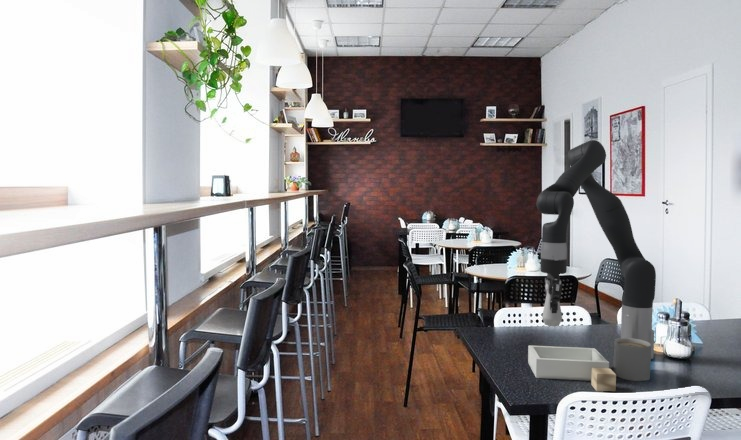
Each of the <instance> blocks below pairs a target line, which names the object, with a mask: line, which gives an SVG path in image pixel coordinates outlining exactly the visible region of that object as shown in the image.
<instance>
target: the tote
mask: <svg viewBox="0 0 741 440" xmlns="http://www.w3.org/2000/svg"><path fill="white" fill-rule="evenodd" d="M527 347H528V350H527V351H528V352H527V363H528V365H529V368H530V369H531V371H532V373H533V375H534V376H535V378H537V379H551V380H552V379H553V380H571V381H574V380H575V381H590V382H591V377H592V368H608V369H610V361H608V360H607V359H606V357H604V356H603V355H602V354H601V353H600V352H599V351H598V350H597V349H596V348H593V347H575V346H573V347H572V346H554V345H553V346H549V345H528V346H527Z"/></svg>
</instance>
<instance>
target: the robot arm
mask: <svg viewBox="0 0 741 440" xmlns="http://www.w3.org/2000/svg"><path fill="white" fill-rule="evenodd" d="M566 155H567V161H568V164H569V167H568V168H567V169H566V170H565V171H563V173H561V175H560V176H559V177H558V178H557V180H556V181H555V182H554V183H553V184H551V185H549V186H548V187H546V188H545V189H544V190H541V192H540V193H539V195H538V196H537V199H536V203H535V204H536V209H537V210H538V212H540V213H541V214H543V215H550V216H551V215H552V216H553V215H555V216H556V215H557V219H556V220H555V221H550V222H545V223H544V224H543V225H542V229H541V231H542V233H541V246H540V247H541V248H540V272H541V273H544V274H547V275H546V277H544V285H545V286H546V283H547V285H548V294H549V295H550V300H549V301H550V310H551V307H552V313H557V311H558V303H559V302H561V298H562V297H561V296H562V291H563V290H562V288H563V285H562V279H560V275H563V274H566V273H567V269H568V268H567V266H568V265H567V263H568V248H567V247H568V245H567V234H568V233H567V231H568V226H569V225H568V224H569V222H570V219H571V215H572V212H573V209H574V206H575V205H574V204H575V201H574V197H575V196H576V194H577V193H578V192H579V189H580V187H582V189H583V191H584V193H585V196H586V197H587V199H588V201H589V204H590V206H591V208H592V211H593V213H594V215H595V217H596V219H597V222H598V224H599V226H600V227H601V230H602V231H603V234H604V235H605V237H606V239H607V240H608V242H609V244H610V245H611V247H612V249H613V252H614V253H615V257H616V260H617V261H618V262H617V263H618V265H619V270H620V272H621V275H622V276H623V278H624V287H623V288H624V289H623V295H622V298H621V322H620V323H621V324H620V325H621V326H620V338H632V339H639V340H643V341H646V342H649V343H650V344H651V360H654V354H655V353H654V351H655V350H654V348H655V330H654V329H653V310H654V309H653V307H654V305H653V304H654V300H655V295H656V281H657V274H656V267H655V266H654V265H653V263H652V262H650V261H648V260H647V259H646V258H645V257H644V256H643V254H642V252H641V251H640V249H639V246H638V245H637V243H636V240H635V238H634V237H635V236H634V232H633V229H632V225H631V220H630V217H629V215H628V213H627V210H626V208H625V206H624V204H623V202H622V200H621V199H620V198H619V197H618V196H617V195H616V194H615V193H613V192H612V191H610V190H608V189H607V188H605V187H603V186H602V185H601V184H600V183H599V182H597V180H596V178H595V177H594V176H593V173H594V172H595V171H596V170H597V169H598V168H599V167H601V166H602V165H603V164H604V162H605V161H606V159H607V153H606V149H605V147H604V145H603V144H602V143H601V142H600V141H598V140H596V139H591V140H588V141H586V142H585V141H584V142H583V143H581V144H579V145H577V146H575V147H572V148H571V149H569V150H568V152H567V154H566ZM545 286H544V287H545ZM550 289H551V290H552V292H551V291H550ZM544 290H545V296H546V295H547V290H546V289H545V288H544ZM555 295H556V297H554V296H555ZM554 307H555V308H554ZM554 310H555V311H554Z"/></svg>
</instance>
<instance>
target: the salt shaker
mask: <svg viewBox="0 0 741 440" xmlns="http://www.w3.org/2000/svg"><path fill="white" fill-rule="evenodd" d="M544 287H545V288H544V290H545V289H546V290H547V295H545V300H544V306H543V310H542V315H541V317H542V321H543V324H544V325H545V326H548V327H559V326H560V324H561V322H562V320H563V314H562V309H561V303H560V302H561V301H560V302H559V303H558V311H557V313H552V307H551V310H550V301H549V300H550V295H549V294H548V285H547V283H546V286H544ZM550 291H551V292H552V290H551V289H550ZM554 297H556V295H555V296H554ZM554 308H555V307H554ZM554 311H555V310H554Z"/></svg>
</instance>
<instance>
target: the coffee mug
mask: <svg viewBox="0 0 741 440" xmlns="http://www.w3.org/2000/svg"><path fill="white" fill-rule="evenodd" d="M613 341H614V342H613V370H612V371H613V372H614V373H615V374H616V377H618V378H620V379H623V380H628V381H634V382H644V381H649V380H650V379H651V362H652V359H651V344H650V343H649V342H646V341H643V340H639V339H632V338H621V337H620V338H619V337H618V338H615V339H614V340H613Z"/></svg>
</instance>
